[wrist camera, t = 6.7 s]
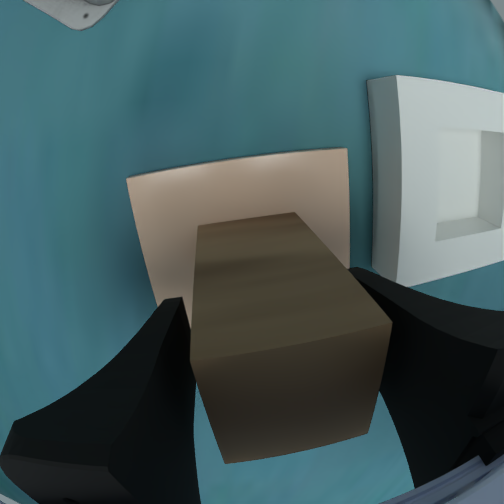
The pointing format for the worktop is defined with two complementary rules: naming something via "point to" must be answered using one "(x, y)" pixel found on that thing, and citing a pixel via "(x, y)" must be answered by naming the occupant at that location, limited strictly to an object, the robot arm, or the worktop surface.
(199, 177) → the pad
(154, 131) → the worktop surface
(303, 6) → the worktop surface
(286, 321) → the peg
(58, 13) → the emergency button
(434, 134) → the pocket block
